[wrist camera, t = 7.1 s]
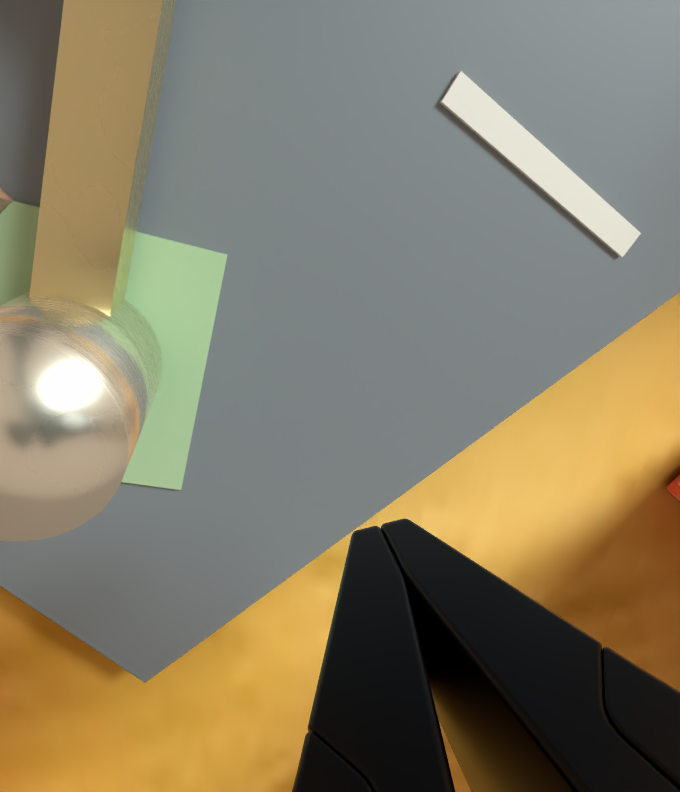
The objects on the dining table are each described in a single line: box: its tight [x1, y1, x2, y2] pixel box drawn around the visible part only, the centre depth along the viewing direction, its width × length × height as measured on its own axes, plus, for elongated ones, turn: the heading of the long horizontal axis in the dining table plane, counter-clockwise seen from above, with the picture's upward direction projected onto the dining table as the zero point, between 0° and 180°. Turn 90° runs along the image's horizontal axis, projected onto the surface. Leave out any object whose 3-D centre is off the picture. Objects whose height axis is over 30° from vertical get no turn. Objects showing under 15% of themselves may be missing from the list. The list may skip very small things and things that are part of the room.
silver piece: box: [0, 0, 177, 542], centre depth 10 cm, size 14×4×5 cm, turn 163°
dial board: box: [0, 0, 680, 682], centre depth 14 cm, size 20×26×1 cm
